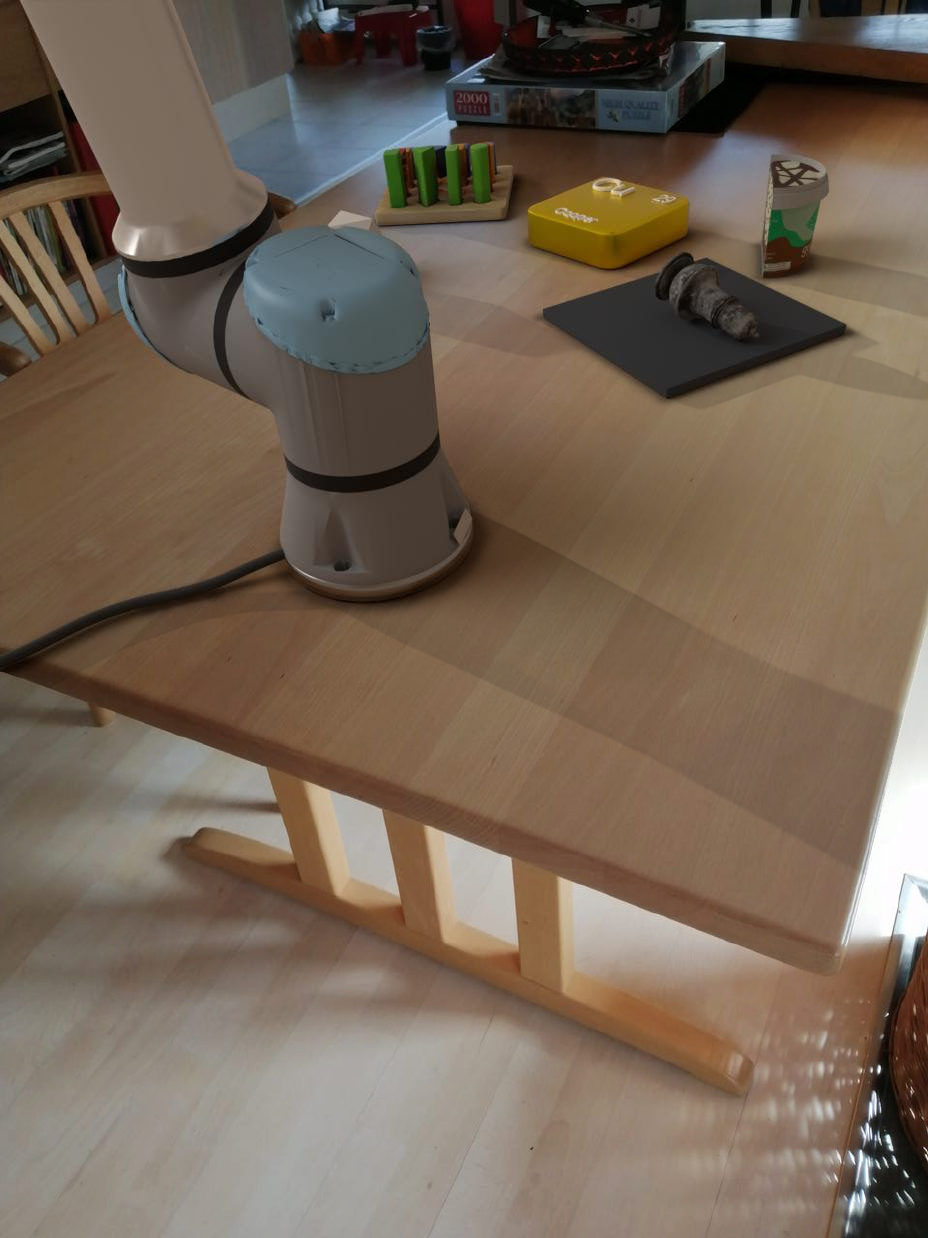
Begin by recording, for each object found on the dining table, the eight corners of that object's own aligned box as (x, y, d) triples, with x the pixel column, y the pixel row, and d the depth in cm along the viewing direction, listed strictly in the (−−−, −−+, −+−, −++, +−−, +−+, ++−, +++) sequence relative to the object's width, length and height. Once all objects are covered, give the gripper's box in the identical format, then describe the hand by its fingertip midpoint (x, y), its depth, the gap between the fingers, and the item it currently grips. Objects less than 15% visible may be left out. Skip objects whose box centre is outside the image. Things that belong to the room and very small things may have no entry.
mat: (666, 398, 94) (666, 389, 93) (542, 317, 109) (542, 308, 108) (845, 333, 100) (846, 324, 100) (705, 265, 116) (706, 256, 115)
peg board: (514, 176, 144) (511, 112, 139) (505, 220, 131) (502, 151, 126) (395, 182, 147) (387, 119, 141) (375, 226, 134) (365, 159, 128)
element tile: (521, 243, 125) (519, 204, 122) (603, 208, 132) (603, 170, 129) (611, 273, 116) (612, 231, 113) (694, 233, 123) (697, 193, 120)
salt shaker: (701, 269, 105) (785, 328, 99) (661, 312, 106) (743, 373, 100) (687, 237, 100) (775, 297, 94) (645, 282, 101) (730, 345, 95)
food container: (821, 283, 109) (836, 189, 103) (762, 283, 111) (773, 189, 104) (814, 240, 118) (828, 151, 112) (760, 240, 120) (771, 152, 113)
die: (411, 288, 119) (390, 204, 118) (375, 278, 111) (352, 188, 110) (351, 311, 123) (330, 229, 122) (312, 303, 115) (289, 216, 114)
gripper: (673, -320, 82) (660, -19, 96) (400, -295, 75) (429, 28, 89) (732, -329, 77) (710, -9, 91) (445, -303, 70) (468, 42, 84)
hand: (571, 10), depth 90 cm, fingers open, 13 cm apart
